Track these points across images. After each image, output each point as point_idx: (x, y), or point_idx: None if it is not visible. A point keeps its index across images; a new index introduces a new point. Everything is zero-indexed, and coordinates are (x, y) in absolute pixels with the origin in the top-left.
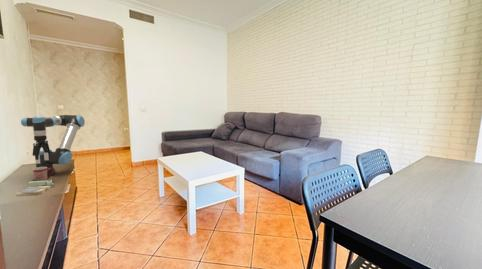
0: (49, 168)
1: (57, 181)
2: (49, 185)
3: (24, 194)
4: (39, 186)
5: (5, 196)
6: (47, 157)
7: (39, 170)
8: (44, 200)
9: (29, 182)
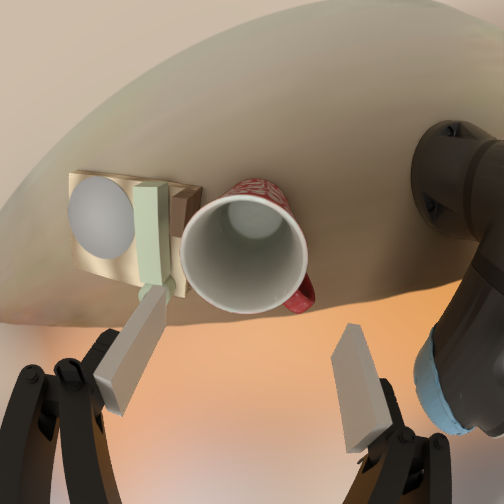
0: (291, 306)
1: None
2: None
3: None
4: None
5: (82, 122)
6: (337, 384)
7: (187, 266)
8: (47, 292)
9: (134, 197)
